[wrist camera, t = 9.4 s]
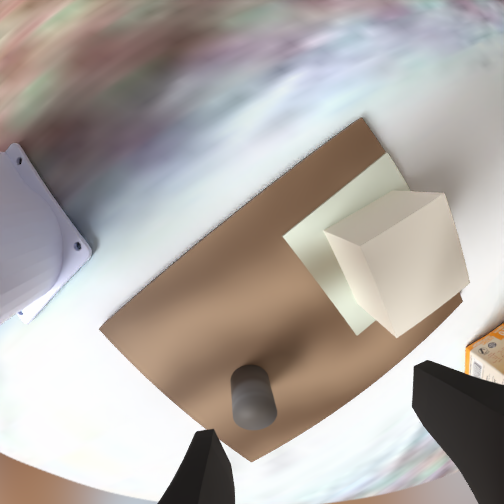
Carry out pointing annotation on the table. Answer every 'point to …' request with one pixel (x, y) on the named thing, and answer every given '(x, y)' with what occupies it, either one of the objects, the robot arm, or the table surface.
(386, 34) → the table surface
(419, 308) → the off-white matte cube
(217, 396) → the walnut board
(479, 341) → the supplement box
